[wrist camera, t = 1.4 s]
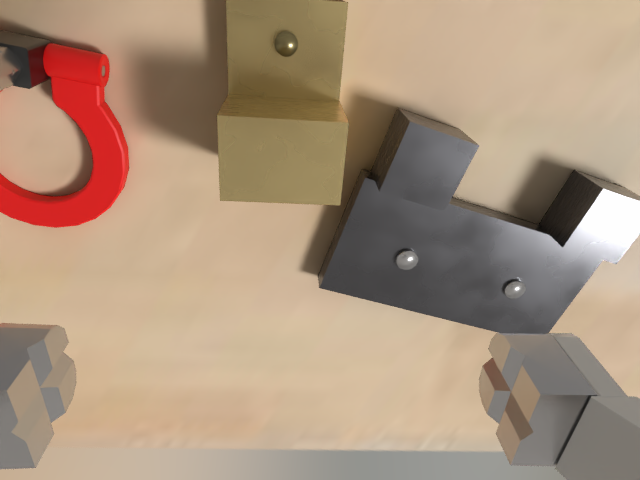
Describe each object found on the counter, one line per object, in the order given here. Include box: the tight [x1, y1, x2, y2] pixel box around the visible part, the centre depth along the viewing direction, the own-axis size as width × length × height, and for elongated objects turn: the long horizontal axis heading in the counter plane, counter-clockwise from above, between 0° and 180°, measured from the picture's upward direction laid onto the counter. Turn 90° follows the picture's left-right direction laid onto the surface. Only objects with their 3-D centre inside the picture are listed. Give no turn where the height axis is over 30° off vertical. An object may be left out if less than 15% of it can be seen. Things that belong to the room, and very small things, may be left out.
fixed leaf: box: [318, 108, 640, 334], centre depth 25 cm, size 15×10×3 cm
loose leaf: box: [217, 0, 349, 205], centre depth 19 cm, size 5×8×5 cm, turn 176°
